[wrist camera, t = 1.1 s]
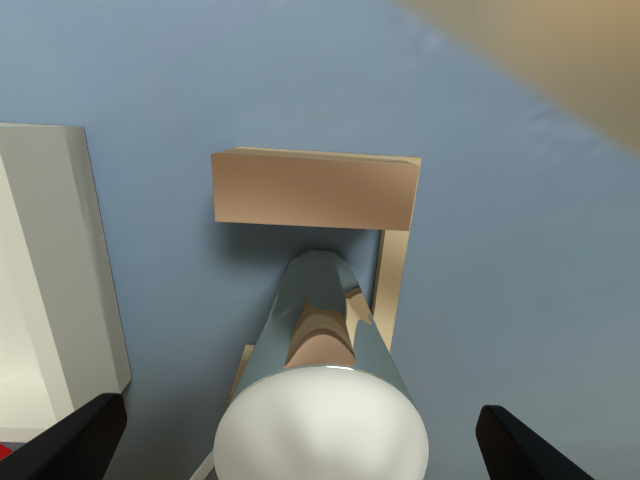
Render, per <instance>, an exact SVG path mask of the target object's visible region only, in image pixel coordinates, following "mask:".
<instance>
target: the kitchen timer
mask: <svg viewBox="0 0 640 480" xmlns="http://www.w3.org/2000/svg"><path fill="white" fill-rule="evenodd" d="M12 452H13V451H12V450H10V449H9V448H7V447H5V446H3V445H1V444H0V460H1V459H3V458H4V457H6V456H7V455H9V454H10V453H12Z"/></svg>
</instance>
